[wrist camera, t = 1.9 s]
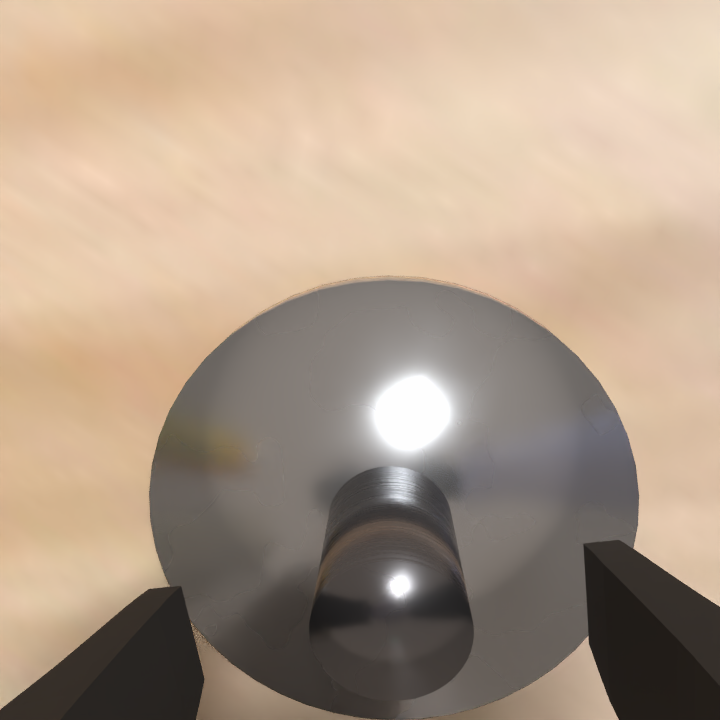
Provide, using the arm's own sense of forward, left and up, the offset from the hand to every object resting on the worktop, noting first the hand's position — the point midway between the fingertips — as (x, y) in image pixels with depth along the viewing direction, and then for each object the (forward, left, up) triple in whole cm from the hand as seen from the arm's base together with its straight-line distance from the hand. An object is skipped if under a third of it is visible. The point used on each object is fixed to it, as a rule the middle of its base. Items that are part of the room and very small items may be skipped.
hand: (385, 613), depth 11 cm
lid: (0, 0, -4) cm, 4 cm away
